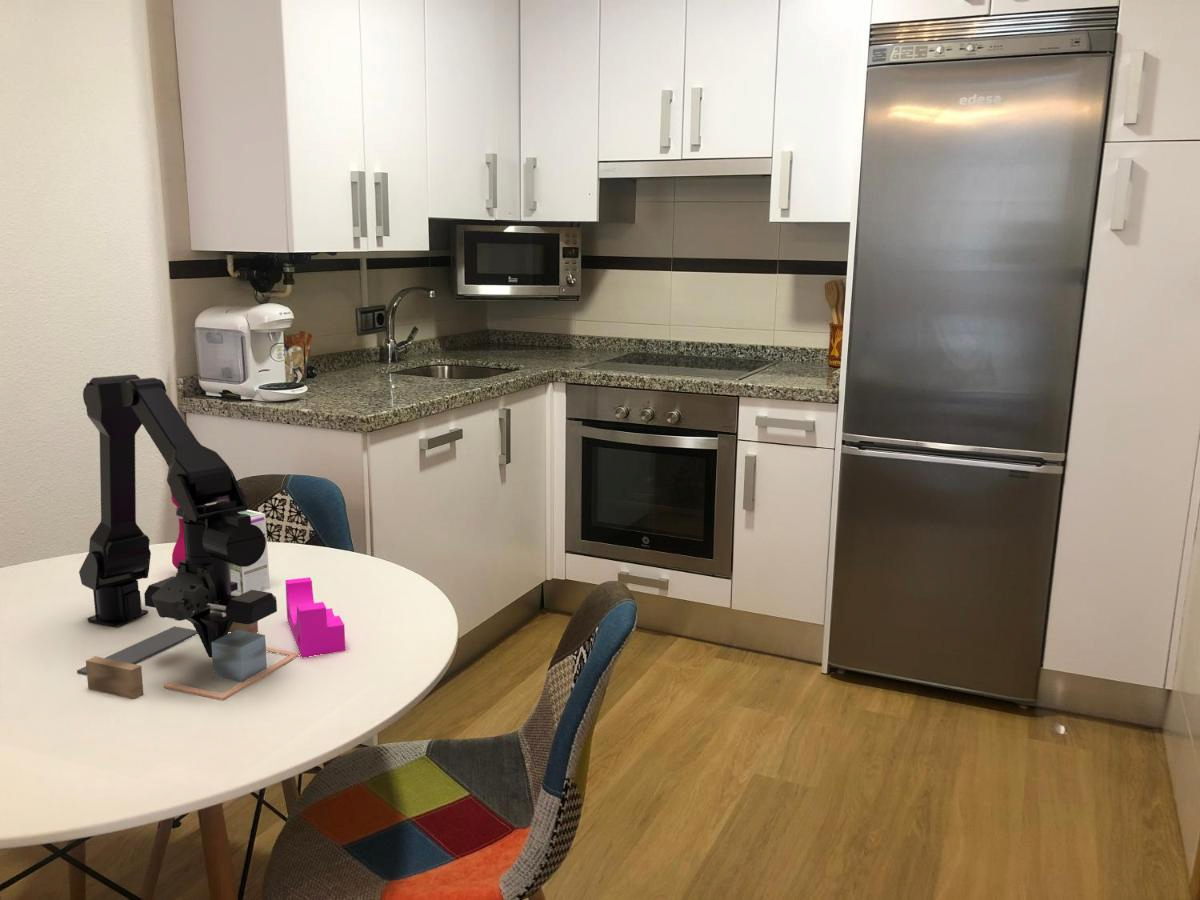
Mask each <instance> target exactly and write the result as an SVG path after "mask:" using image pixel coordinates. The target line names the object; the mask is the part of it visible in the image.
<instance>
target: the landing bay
mask: <svg viewBox="0 0 1200 900" xmlns="http://www.w3.org/2000/svg"><path fill="white" fill-rule="evenodd" d="M266 651H268V652H272V653H271V654H273V653H279V654H284V655H288V656H285V657H284V658H282V659H281V660H279V661H277V662H276V663H274V664H272V665H270V666H269V667H268V666H267V668H266V669H265V670H263V671H261V672H259V673H258V674H256V675H254V676H252V677H251V678H249V679H247V680H245V681H244V682H240V683H238V684H237V685H235V686H233V687H231V688H229V690H228V689H227V690H226V691H224V692H223V693H220V692H215V691H211V690H206V689H201V688H197V687H191V686H188V685H187V686H186V685H183V684H178V683H172V682H168V683H166V684H164V685H163V689H169V690H173V691H179V692H182V693H187V694H192V695H196V696H197V695H198V696H201V697H206V698H211V699H216V700H221V701H224V700H226V699H228V698H230V697H231V696H233V695H234V694H237V693H238V692H240V691H242V690H243V689H245V688H247V687H248V686H250V685H252V684H254V683H256V682H258V681H259V680H261V679H262V678H264V677H266V676H267V675H270V674H271V673H273V672H275V671H276V670H278V669H280V668H281V667H283V666H285V665H286V663H287V664H288V663H290V662H292V661H293V660H294V659H293V658H295V657H297V656H298V655H300V653H299V652H293V651H290V650H289V651H288V650H282V649H279V648H272V647H267V646H266ZM268 652H267V653H268ZM300 656H301V655H300ZM298 657H299V656H298ZM298 657H297V658H298ZM292 659H293V660H292ZM295 659H296V658H295ZM291 660H292V661H291ZM289 661H290V662H289ZM284 664H285V665H284Z"/></svg>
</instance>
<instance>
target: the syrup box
mask: <svg viewBox="0 0 1200 900" xmlns="http://www.w3.org/2000/svg"><path fill="white" fill-rule="evenodd" d="M238 513H240V514H247V515H250V517H251V524H253V525H255V526H257V527H259V528H260V529H261V531H262V532H263V534H264V537H265V538H266V547H265V550H264V553H263V554H262V556H261V558H260V559H259V560H258V561H257V562H255V563H254V564H252V565H250V566H247V567H240V566H236V565H234V564H230V573H231V582H237V584H238V589H237V590H235V591H233V592H231V594H234V595H241V594H243V593H246V592H248V591H250V590H257V591H263V592H265V591H267V590H268V589H270V588H271V583H270V569H269V553H268V537H267V520H266V513H264V512H260V511H256V510H255V511H254V510H250V509H248V510H247V511H242V512H238Z"/></svg>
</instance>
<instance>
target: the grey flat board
mask: <svg viewBox="0 0 1200 900" xmlns="http://www.w3.org/2000/svg"><path fill="white" fill-rule="evenodd" d="M196 634H197V635H198V633H197V631H196V629H190V628H186V627H180V626H172V627H170V628H168V629H165V630H163V631H160V632H159V633H157V634H154V635H152V636H150V637H147V638H145V639H143V640H141V641H139V642H136V643H134V644H132V645H130V646H128V647H125V648H124V649H121V650H119V651H117V652H115V653H113V654H110V655H107V656H105V657H104V658H107V659H111V660H116V661H121V662H126V663H131V664H136V665H138V664H139V663H142V662H143V661H145V660H146V659H149V658H152V657H155V655H158V654H159V653H162V652H164V651H166V650H169V649H171V648H173V647H174V646H177V645H178V644H181V643H183V642H185V641H187V640H189V639H191V638H193V637H195V636H197V635H196ZM192 636H193V637H192ZM186 639H187V640H186ZM184 640H185V641H184ZM76 674H79V675H85V676H87V669H86V665H85V666H83V667H81V668H80V669H77V670H76Z"/></svg>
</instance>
